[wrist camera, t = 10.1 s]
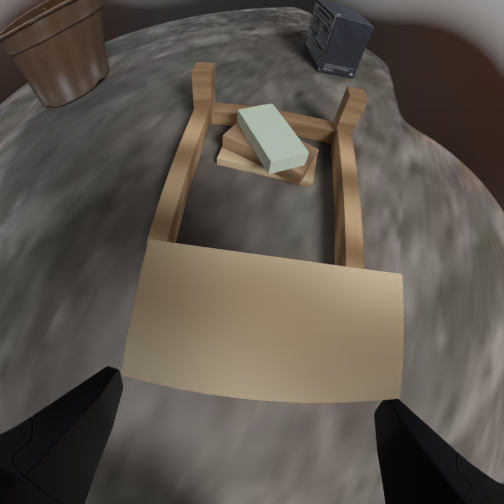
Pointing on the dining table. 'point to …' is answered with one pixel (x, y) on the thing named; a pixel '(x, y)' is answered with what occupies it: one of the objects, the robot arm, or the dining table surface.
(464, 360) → the dining table surface
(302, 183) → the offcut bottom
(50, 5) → the plant pot
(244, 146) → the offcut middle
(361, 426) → the dining table surface
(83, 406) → the robot arm
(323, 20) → the small box
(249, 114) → the offcut top
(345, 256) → the rack
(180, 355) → the pale wooden block
